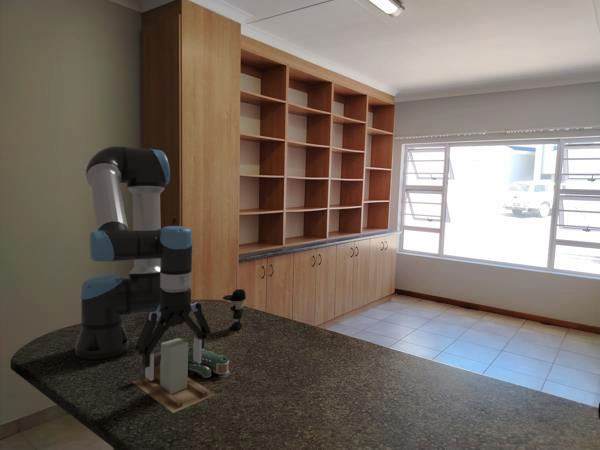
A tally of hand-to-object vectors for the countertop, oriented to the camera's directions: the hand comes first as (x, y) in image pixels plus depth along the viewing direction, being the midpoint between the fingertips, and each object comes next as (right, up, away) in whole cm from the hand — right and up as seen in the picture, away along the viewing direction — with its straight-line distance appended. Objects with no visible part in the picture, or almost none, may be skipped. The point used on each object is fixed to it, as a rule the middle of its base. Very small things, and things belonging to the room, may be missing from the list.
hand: (174, 369), depth 104 cm
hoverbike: (+1, -5, +14) cm, 15 cm away
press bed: (-1, -6, +1) cm, 6 cm away
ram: (-1, -5, +1) cm, 5 cm away
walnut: (-5, -4, +4) cm, 8 cm away
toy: (+7, -2, +48) cm, 49 cm away
